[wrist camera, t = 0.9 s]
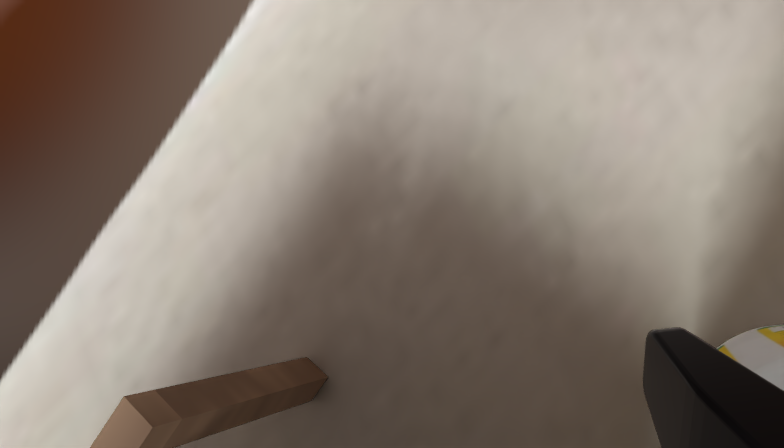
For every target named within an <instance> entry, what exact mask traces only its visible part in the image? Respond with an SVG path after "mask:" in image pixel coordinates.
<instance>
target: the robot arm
mask: <svg viewBox="0 0 784 448" xmlns="http://www.w3.org/2000/svg"><path fill="white" fill-rule="evenodd" d="M643 388H644V394H645V398H646V401H647V404H648V407H649V410H650V413H651V416H652V419H653V422H654V426H655V429H656V432H657V435H658V438H659V441H660V444H661V447H662V448H784V390H782V389H780V388H779V387H777V386H775V385H774V384H772V383H771V382H769V381H767V380H766V379H764V378H763V377H761V376H759V375H758V374H756V373H755V372H753V371H751V370H750V369H748V368H747V367H745V366H743V365H742V364H740V363H739V362H737V361H735V360H734V359H732V358H731V357H729V356H727V355H726V354H724V353H722V352H721V351H719V350H718V349H716V348H714V347H713V346H711V345H710V344H708V343H706V342H705V341H703V340H702V339H700V338H698V337H697V336H695V335H694V334H692V333H690V332H689V331H687V330H685V329H683V328H680V327H674V328H665V329H655V330H652V331H650V332H649V333H648V335H647V338H646V345H645V358H644V371H643Z"/></svg>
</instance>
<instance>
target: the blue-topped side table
mask: <svg viewBox="0 0 784 448" xmlns="http://www.w3.org/2000/svg"><path fill="white" fill-rule="evenodd" d="M327 378H328V376H327V375H326V374H324V373H323V372H322V371H321V370H320V369H319V368H318V367H317V366H316V365H315V364H314V363H312V362H311V361H310V360H309V359H308V358H307V357H305V358H300V359H296V360H291V361H286V362H282V363H277V364H272V365H268V366H263V367H258V368H254V369H249V370H245V371H240V372H235V373H231V374H226V375H221V376H217V377H212V378H207V379H203V380H198V381H193V382H189V383H184V384H179V385H175V386H170V387H165V388H161V389H156V390H152V391H147V392H142V393H138V394H133V395H128V396H124V397H123V399H122V400H121V402H120V403H119V405H118V406H117V408H116V409H115V411H114V412H113V414H112V415H111V417H110V418H109V420H108V421H107V423H106V424H105V426H104V427H103V429H102V430H101V432H100V433H99V435H98V436H97V438H96V439H95V441H94V442H93V444H92V445H91V447H90V448H174V447H177V446H180V445H183V444H186V443H189V442H192V441H195V440H198V439H201V438H204V437H207V436H209V435H212V434H215V433H218V432H221V431H224V430H227V429H230V428H233V427H236V426H239V425H242V424H245V423H248V422H250V421H253V420H256V419H259V418H262V417H265V416H268V415H271V414H274V413H277V412H280V411H283V410H286V409H289V408H291V407H294V406H297V405H300V404H303V403H306V402H309V401H311V400H312V399H313V398H314V396H315V395H316V393H317V392H318V391H319V389H320V388H321V386H322V385H323V384H324V382H325V381H326V379H327Z"/></svg>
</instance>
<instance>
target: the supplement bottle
mask: <svg viewBox="0 0 784 448" xmlns="http://www.w3.org/2000/svg"><path fill="white" fill-rule="evenodd" d="M716 349H718V350H719V351H721V352H722V353H724V354H726V355H727V356H729V357H731V358H732V359H734V360H735V361H737V362H739V363H740V364H742V365H743V366H745V367H747V368H748V369H750V370H751V371H753V372H755V373H756V374H758V375H759V376H761V377H763V378H764V379H766V380H767V381H769V382H771V383H772V384H774V385H775V386H777V387H779V388H780V389H782V390H784V324H783V325H771V326H764V327H759V328H755V329H752V330H749V331H746V332H744V333H741V334H739V335H737V336H735V337H733V338H731V339H729V340H727V341H726V342H724V343H723V344H722V345H720V346H719V347H717V348H716Z"/></svg>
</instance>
